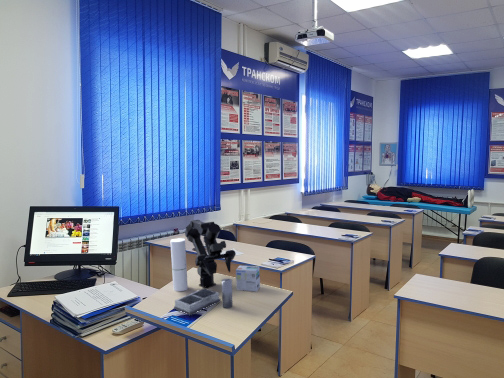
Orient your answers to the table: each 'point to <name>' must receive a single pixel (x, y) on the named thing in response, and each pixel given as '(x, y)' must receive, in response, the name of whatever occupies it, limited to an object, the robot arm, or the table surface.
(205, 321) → the table surface
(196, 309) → the gray divided tray
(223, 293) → the shiny gray cylinder
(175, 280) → the cylindrical container
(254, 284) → the light bulb box
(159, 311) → the table surface
